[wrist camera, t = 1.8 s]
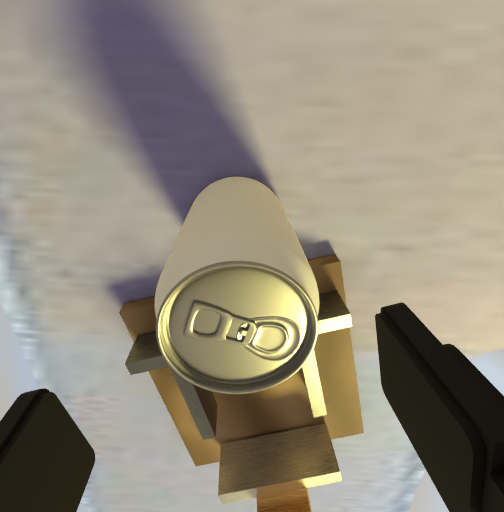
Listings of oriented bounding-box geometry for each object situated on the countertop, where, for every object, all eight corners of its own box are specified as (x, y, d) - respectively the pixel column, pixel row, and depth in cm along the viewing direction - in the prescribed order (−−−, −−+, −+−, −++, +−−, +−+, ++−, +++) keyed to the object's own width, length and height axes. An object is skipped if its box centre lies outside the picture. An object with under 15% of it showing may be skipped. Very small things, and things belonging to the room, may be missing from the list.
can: (265, 275, 24) (290, 417, 13) (179, 251, 23) (126, 383, 12) (299, 192, 21) (363, 281, 10) (203, 160, 20) (166, 222, 9)
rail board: (335, 254, 23) (340, 261, 22) (359, 421, 31) (363, 432, 30) (124, 303, 24) (119, 312, 23) (197, 453, 32) (195, 466, 31)
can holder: (336, 289, 23) (350, 313, 20) (349, 377, 27) (362, 407, 24) (137, 334, 24) (125, 363, 21) (175, 413, 28) (169, 446, 25)
